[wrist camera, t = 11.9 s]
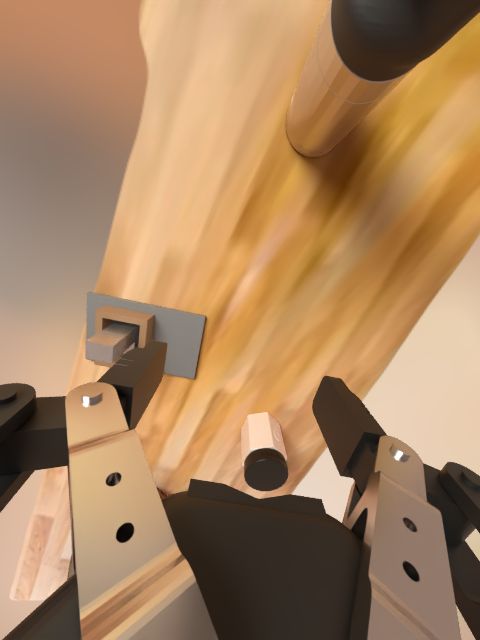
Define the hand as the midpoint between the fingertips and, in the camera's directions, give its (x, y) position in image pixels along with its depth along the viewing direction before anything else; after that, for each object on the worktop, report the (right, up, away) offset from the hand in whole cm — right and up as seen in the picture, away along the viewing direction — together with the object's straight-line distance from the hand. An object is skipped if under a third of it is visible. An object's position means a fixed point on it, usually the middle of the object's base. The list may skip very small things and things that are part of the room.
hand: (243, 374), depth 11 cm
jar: (+5, -22, +41) cm, 47 cm away
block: (-22, 0, +33) cm, 39 cm away
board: (-19, -1, +34) cm, 39 cm away
